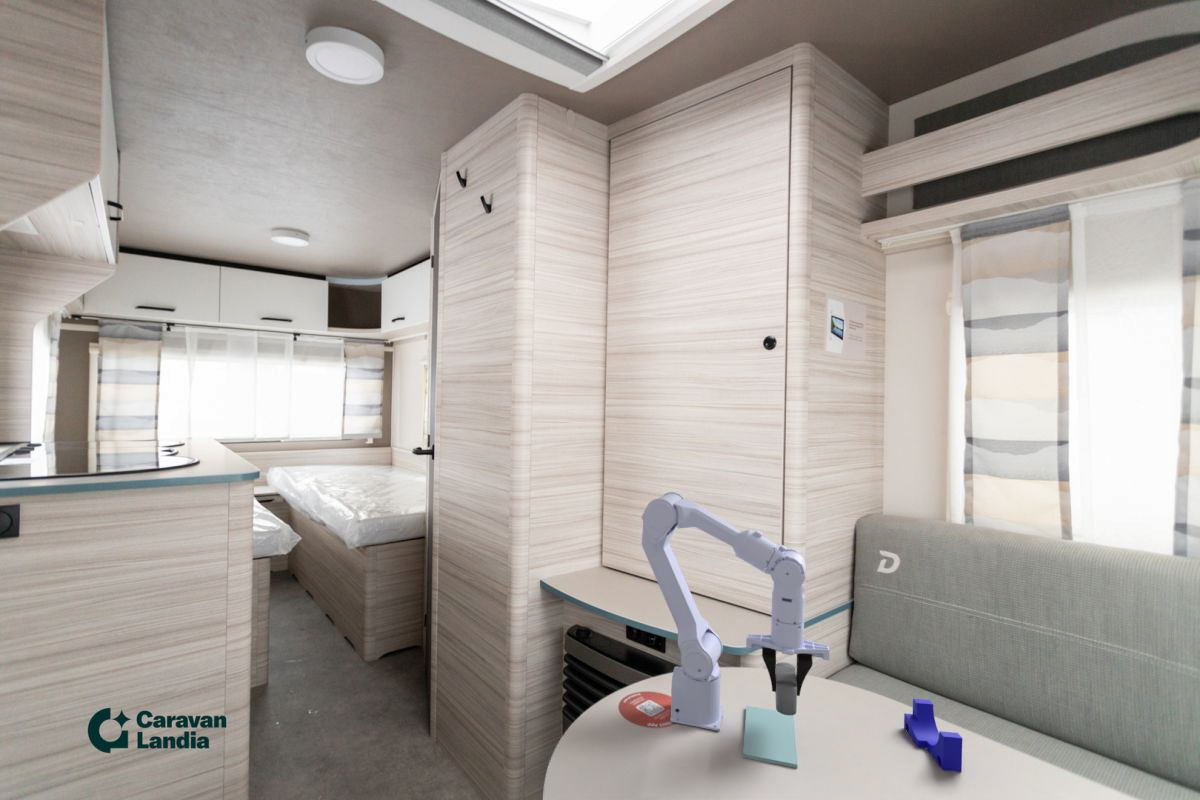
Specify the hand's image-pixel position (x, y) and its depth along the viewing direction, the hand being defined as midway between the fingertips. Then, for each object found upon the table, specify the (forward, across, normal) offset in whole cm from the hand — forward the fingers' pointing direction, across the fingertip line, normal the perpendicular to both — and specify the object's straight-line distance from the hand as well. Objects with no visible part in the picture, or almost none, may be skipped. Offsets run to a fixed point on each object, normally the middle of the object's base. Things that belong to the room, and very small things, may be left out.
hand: (785, 691), depth 103 cm
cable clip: (+9, +26, +6) cm, 28 cm away
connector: (+2, 0, 0) cm, 2 cm away
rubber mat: (+9, -3, 0) cm, 9 cm away
